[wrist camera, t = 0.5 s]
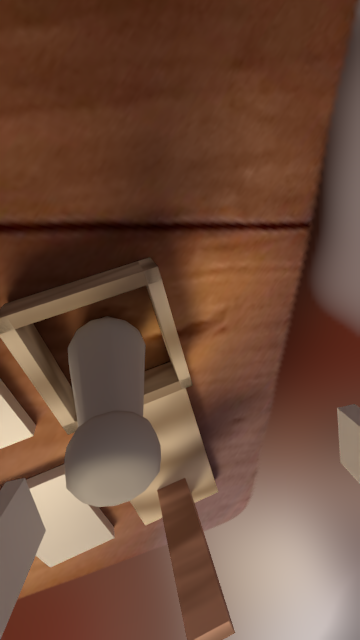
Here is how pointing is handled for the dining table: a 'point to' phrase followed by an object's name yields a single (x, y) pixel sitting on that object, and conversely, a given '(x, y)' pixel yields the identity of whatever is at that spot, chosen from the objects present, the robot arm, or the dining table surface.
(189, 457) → the wooden tray with post
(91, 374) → the salt shaker
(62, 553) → the broken strip
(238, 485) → the dining table surface
